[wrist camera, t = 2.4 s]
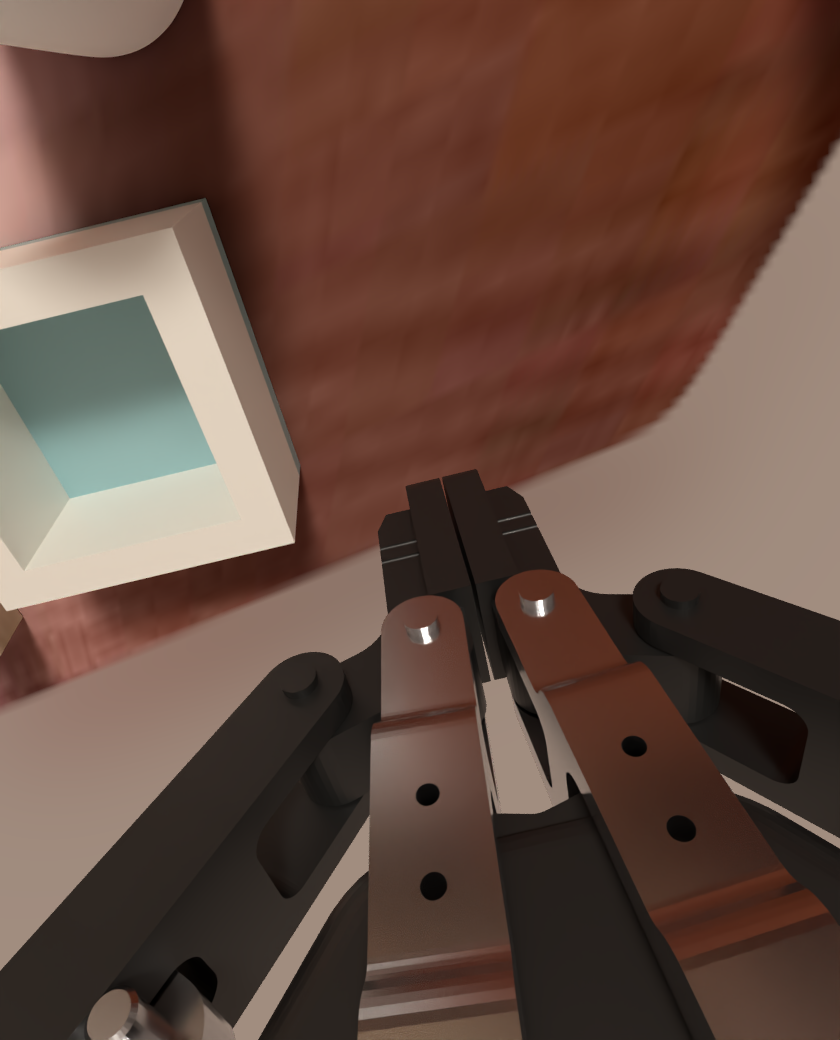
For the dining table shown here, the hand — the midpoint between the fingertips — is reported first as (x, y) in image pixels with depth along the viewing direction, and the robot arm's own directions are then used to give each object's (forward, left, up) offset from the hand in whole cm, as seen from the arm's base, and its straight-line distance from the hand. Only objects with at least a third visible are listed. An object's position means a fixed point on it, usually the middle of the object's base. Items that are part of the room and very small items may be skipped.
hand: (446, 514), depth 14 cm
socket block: (+11, 0, -15) cm, 18 cm away
